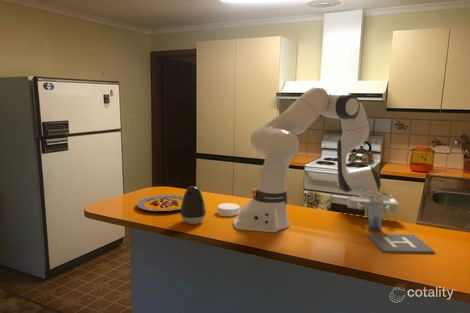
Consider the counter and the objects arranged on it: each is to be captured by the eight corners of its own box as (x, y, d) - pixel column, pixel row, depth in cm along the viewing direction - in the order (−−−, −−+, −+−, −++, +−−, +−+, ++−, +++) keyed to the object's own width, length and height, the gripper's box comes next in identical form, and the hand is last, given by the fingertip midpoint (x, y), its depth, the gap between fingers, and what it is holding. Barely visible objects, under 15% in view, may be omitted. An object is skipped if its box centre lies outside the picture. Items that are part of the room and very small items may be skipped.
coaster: (229, 218, 154) (229, 210, 153) (212, 213, 160) (212, 206, 160) (244, 213, 162) (244, 205, 161) (227, 208, 168) (227, 201, 167)
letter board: (383, 252, 120) (383, 250, 120) (367, 235, 135) (367, 233, 135) (434, 253, 120) (434, 251, 120) (413, 236, 135) (413, 234, 135)
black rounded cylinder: (176, 225, 145) (175, 188, 143) (187, 217, 155) (186, 182, 152) (199, 228, 142) (199, 190, 140) (209, 219, 152) (209, 184, 149)
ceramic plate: (125, 207, 168) (125, 201, 167) (167, 196, 188) (167, 190, 188) (163, 219, 153) (163, 212, 152) (204, 205, 173) (204, 199, 172)
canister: (370, 231, 140) (372, 201, 138) (365, 227, 145) (367, 197, 143) (383, 231, 140) (385, 201, 138) (378, 227, 145) (380, 198, 143)
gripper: (346, 191, 162) (347, 199, 149) (396, 195, 157) (401, 204, 144) (345, 205, 163) (346, 214, 150) (394, 209, 158) (399, 219, 145)
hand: (373, 209), depth 147 cm, fingers open, 8 cm apart
